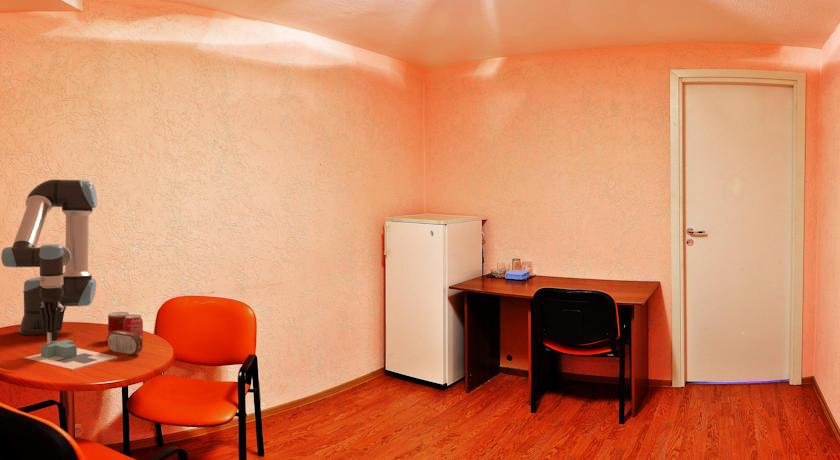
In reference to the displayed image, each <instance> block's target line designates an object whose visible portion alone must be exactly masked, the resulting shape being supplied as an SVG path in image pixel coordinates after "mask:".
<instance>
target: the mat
mask: <svg viewBox="0 0 840 460" xmlns="http://www.w3.org/2000/svg"><path fill="white" fill-rule="evenodd" d="M24 359H29V360H33V361H36V362H41V363H44V364H48V365H49V364H50V365H53V366H57V367H61V368H64V369H68V370H70V371H75V370H79V369H83V368H86V367H89V366H94V365H97V364H100V363H103V362H109V361H112V360H115V359H118V356H116V355H111V354H106V353H102V352H97V351H92V350H89V349H83V348H80V347H79V348H78V347H77V356H75V357H71V358H67V359H66V358H62V357H58V356H54V357H50V358H46V357H42V356H41V353H39V354H34V355H29V356H25V357H24Z"/></svg>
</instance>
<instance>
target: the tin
mask: <svg viewBox="0 0 840 460" xmlns="http://www.w3.org/2000/svg"><path fill="white" fill-rule="evenodd" d="M106 341H107V347H108V349H109V350H110V351H111V352H115V353H121V354H125V355H127V356H134V355H136V354H137V355H138V354H139V353H141V352H142V349H143V342H142V340H141V338H140V337H139V336H138V335H137V334H136V333H132V332H125V331H119V330H117V331H115V332H112V333H110V334H109V335H108V334H107V339H106Z"/></svg>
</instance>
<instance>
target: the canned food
mask: <svg viewBox="0 0 840 460" xmlns="http://www.w3.org/2000/svg"><path fill="white" fill-rule="evenodd" d="M128 315H130V313H129V312H126V311H115V312H114V311H113V312H110V313H108V316H107V317H108V318H107V321H108V322H107V324H108V325H107V327H108V328H107V329H108V330H107V331H108V332H107V336H108V335H109V334H110V333H112V332H115V331H117V330H119V331H123V323H124V320H125V316H128Z"/></svg>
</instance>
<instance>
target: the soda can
mask: <svg viewBox="0 0 840 460" xmlns="http://www.w3.org/2000/svg"><path fill="white" fill-rule="evenodd" d="M143 321H144V320H143V318H142V315H141V314H129V315H128V316H125V320H124V323H123V331H125V332H132V333H136V334H137V335H138V336H139V337H140V338H141V340H142V343H143V342H144V341H143V340H144V339H143V338H144V324H143V323H144V322H143Z"/></svg>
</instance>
